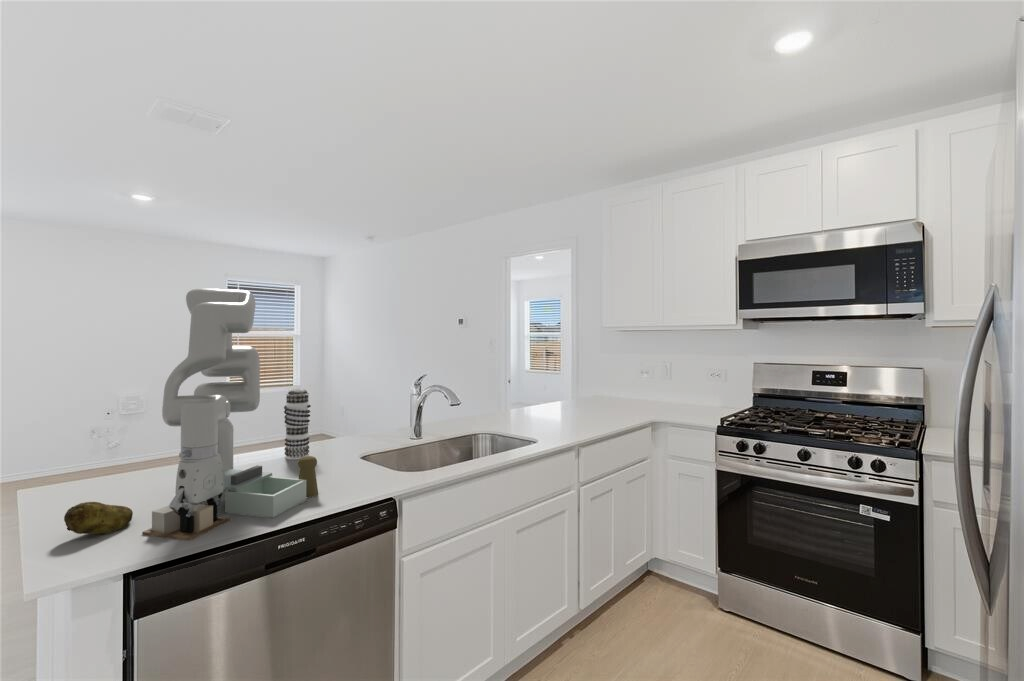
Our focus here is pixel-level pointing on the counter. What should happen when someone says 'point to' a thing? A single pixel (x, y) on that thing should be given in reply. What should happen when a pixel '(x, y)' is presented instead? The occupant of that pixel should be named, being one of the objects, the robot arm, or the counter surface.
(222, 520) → the tray
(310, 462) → the cork
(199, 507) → the sandstone block
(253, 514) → the bin
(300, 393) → the decorative candle
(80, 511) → the potato
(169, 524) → the grey block
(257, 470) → the lid
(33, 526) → the counter surface
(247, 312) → the robot arm
